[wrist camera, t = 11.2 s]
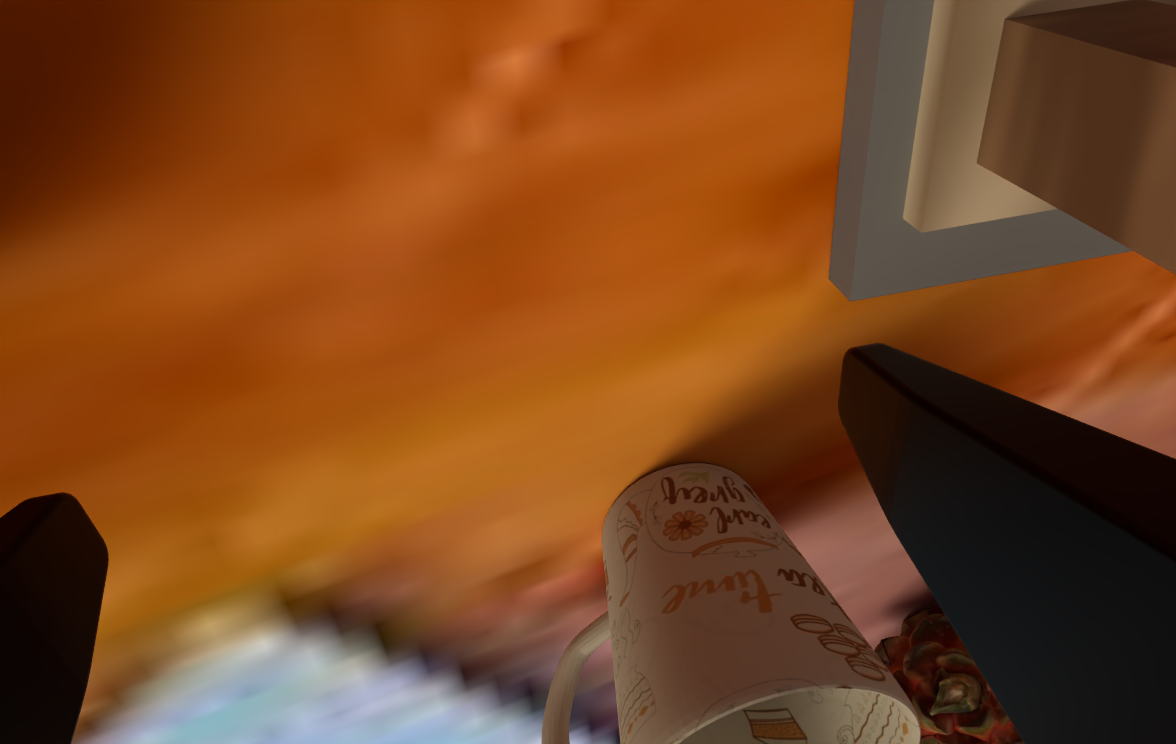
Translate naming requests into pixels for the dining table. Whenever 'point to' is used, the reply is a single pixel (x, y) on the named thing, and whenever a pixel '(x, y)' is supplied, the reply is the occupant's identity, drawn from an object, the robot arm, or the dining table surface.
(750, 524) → the mug
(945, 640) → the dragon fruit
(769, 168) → the dining table surface
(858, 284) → the grey tray
